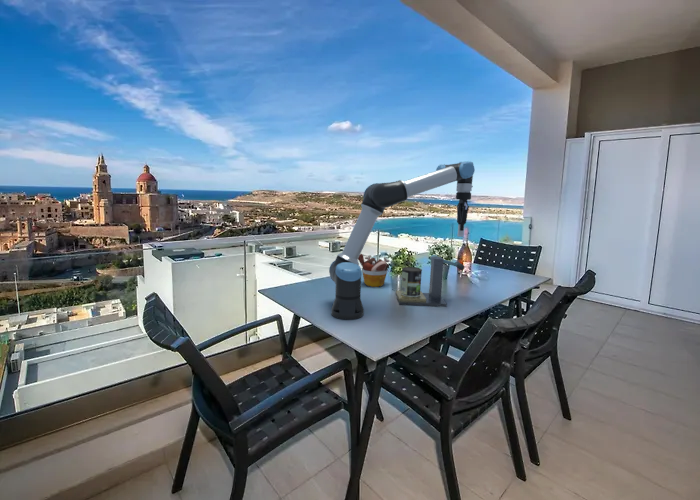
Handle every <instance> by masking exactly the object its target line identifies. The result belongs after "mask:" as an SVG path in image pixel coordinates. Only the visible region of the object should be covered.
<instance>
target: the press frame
mask: <svg viewBox="0 0 700 500" xmlns="http://www.w3.org/2000/svg"><path fill="white" fill-rule="evenodd" d="M444 260H445V259H444V258H443V257H442V256H438V257H432V258H431V257H430V261H431V262H430V275H429V276H430V277H429V287H428V288H429V289H428V290H429V291H428V292H422V291H421V290H420V296H419V297H406V296H403V295H402V294H401V290H399V289H398V290H395V297H396V300H397V303H398V305H399V306H417V307H446V308H447V305H448V304H447V302H446V301H445V300H444V299H443V297H442V288H443V276H444V274H443V273H444V264H445V263H444Z"/></svg>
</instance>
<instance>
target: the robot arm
mask: <svg viewBox="0 0 700 500" xmlns="http://www.w3.org/2000/svg"><path fill="white" fill-rule="evenodd" d="M474 174H475V165H474V162H473V161H471V160H470V161H469V160H468V161H459V162H457V163H451V164H445V163H444V164H439V165H438V166H436V169H435V170H434V171H431V172H429V173H425V174H422V175H420V176H419V175H418V176H416V177H413V178H410V179H407V180H404V181H403V180H402V179H399V180H396V181H392V182H379V183H378V182H377V183H373V184H370V185H369V186H367V187H366V188H365V189H364V192H363V200H362V201H361V204H360V205H361V211H360V213H359V215H358V217H357V220H356V221H355V224H354V226H353V229H352V230H351V232H350V234H349V237H348V239H347V240H346V243H345V246H344V247H343V250H342V252H341V253H337V256H336V258H335V260H333V261H332V262H331V263H330V265H329V269H328V270H329V276H330V279H331V281H332V282H334V284H335V298H334V300H333V304H332V306H331V316H333V317H334V318H337V319H340V320H356V319H360V318H362V317H363V316H364V313H365V310H364V307H363V303H362V299H361V292H362V291H361V289H362V267H361V266H360V264H359V263H360V262H359V260H358V258H359V256H360V254H362V251H363V250H364V247H365V246H366V243H367V241H368V239H369V237H370V234H371V232H372V230H373V228H374V226H375V223H376V221H377V220H378V217H379V216H381V215H383V213H384V211H385V209H386V208H390V207H392V206H395V205H397V204H400V203H403V202H405V201H407V200H408V198H410V197H413V196H416V195H418V194H421V193H424V192H425V193H426V192H427V191H430V190H433V189H436V188H440V187H441V186H445V185H447V184H451V183H454V182H456V193H455V199H456V200H458V202H457V205H456V215H457V216H456V222H457V225H458V226H457V234H456V235H457V237H461V238H464V233H465V225H466V224H467V219H468V212H469V208H470V205H469V203H468V201H469V200H471V199H472V189H473V179H474V178H473V177H474Z"/></svg>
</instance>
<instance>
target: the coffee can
mask: <svg viewBox="0 0 700 500" xmlns="http://www.w3.org/2000/svg"><path fill="white" fill-rule="evenodd" d="M422 271H423V269H422V268H419V267H415V266H414V267H413V266H404V267H402V272H401V273H402V274H401V290H400V291H401V294H402V295H403V296H406V297H419V296H420V291H421V286H422V285H421V284H422V273H423V272H422Z"/></svg>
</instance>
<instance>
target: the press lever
mask: <svg viewBox="0 0 700 500" xmlns="http://www.w3.org/2000/svg"><path fill="white" fill-rule="evenodd" d="M432 257H439V256H438V255H437V254H432V255H431V256H430V259H431V258H432ZM443 264H446V265H450V266H453V267H456V268H457V269H458V270H460V271H463V270H464V269H465V265H464V264H463V263H461V262H460V261H455V262H454V261H450V260H448V259H447V260H446V259H444V263H443Z"/></svg>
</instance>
